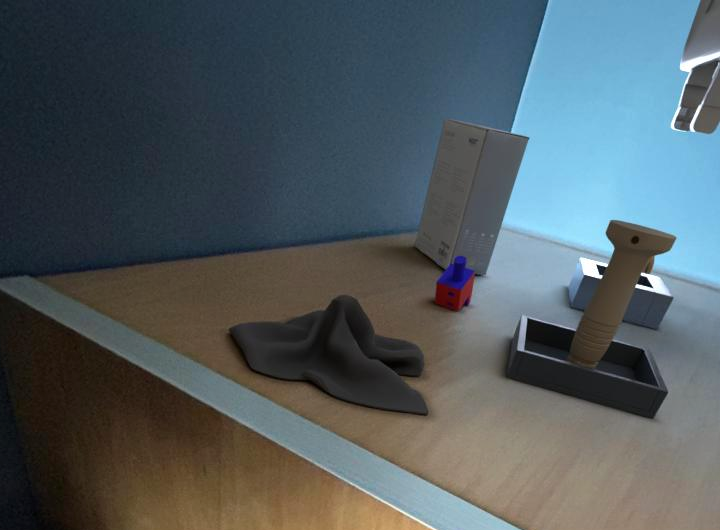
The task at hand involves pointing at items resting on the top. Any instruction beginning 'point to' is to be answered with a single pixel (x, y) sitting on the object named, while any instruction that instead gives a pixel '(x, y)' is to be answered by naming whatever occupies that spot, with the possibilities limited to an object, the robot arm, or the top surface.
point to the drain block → (645, 300)
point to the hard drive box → (469, 193)
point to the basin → (586, 369)
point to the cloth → (337, 356)
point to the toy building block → (455, 285)
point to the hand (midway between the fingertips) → (689, 131)
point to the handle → (615, 288)
